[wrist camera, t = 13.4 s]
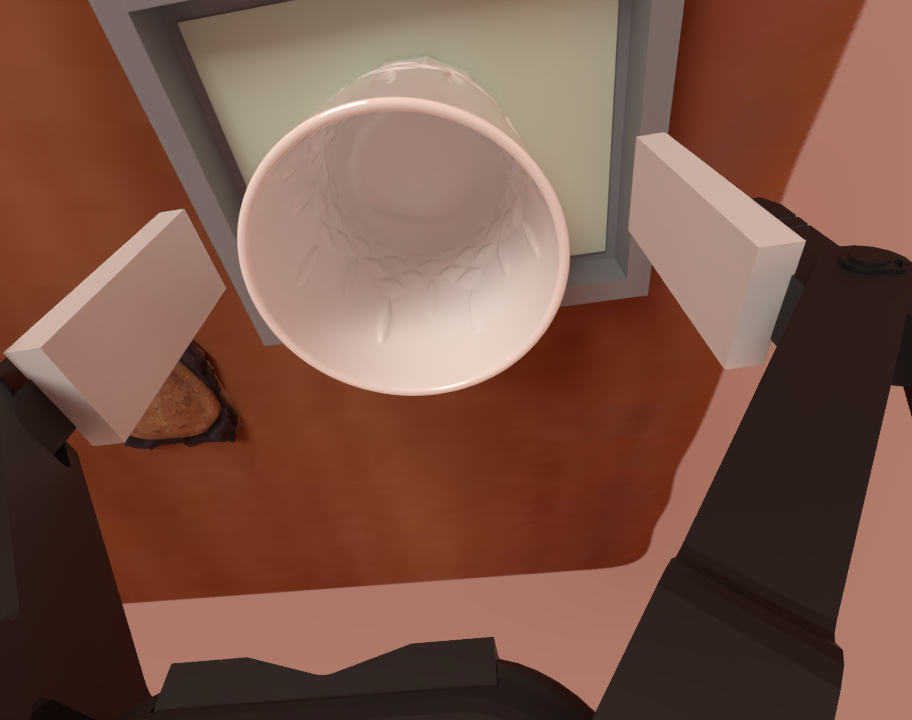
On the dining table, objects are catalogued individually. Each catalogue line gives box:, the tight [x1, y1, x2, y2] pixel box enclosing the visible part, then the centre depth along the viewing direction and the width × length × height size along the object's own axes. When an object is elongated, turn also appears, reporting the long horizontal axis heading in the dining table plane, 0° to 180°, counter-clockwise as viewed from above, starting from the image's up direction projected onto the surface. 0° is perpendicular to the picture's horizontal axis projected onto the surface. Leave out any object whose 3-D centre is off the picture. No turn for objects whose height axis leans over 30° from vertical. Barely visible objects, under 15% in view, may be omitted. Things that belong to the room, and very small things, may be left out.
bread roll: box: [125, 341, 243, 450], centre depth 28 cm, size 11×8×4 cm
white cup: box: [237, 56, 570, 396], centre depth 16 cm, size 8×8×10 cm
